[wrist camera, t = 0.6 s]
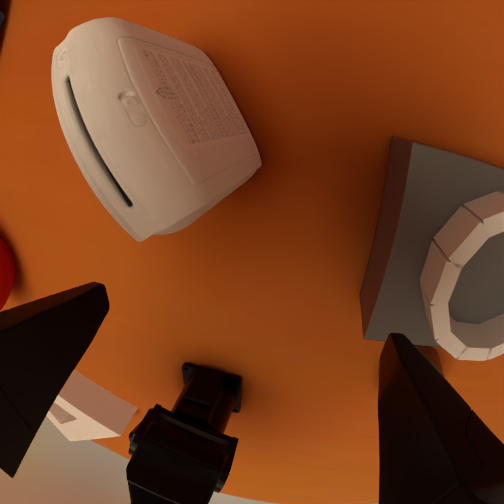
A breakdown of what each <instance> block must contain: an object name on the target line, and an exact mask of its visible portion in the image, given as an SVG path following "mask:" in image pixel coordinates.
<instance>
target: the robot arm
mask: <svg viewBox="0 0 504 504" xmlns="http://www.w3.org/2000/svg"><path fill="white" fill-rule="evenodd" d="M108 311H109V300H108V296H107V292H106V288H105V286H104V285H103V284H102V283H98V282H91V283H88V284H85V285H81V286H78V287H75V288H72V289H69V290H66V291H63V292H60V293H56V294H53V295H50V296H47V297H44V298H41V299H38V300H35V301H32V302H29V303H26V304H23V305H20V306H17V307H14V308H11V309H9V310H5V311H2V312H0V468H1V469H2V470H3V471H4V472H5V473H7V474H8V475H9V476H10V477H11V478H13V477H14V476H15V474H16V472H17V470H18V468H19V466H20V464H21V461H22V460H23V458H24V456H25V454H26V452H27V450H28V448H29V446H30V444H31V442H32V440H33V438H34V437H35V434H36V433H37V431H38V429H39V427H40V425H41V424H42V422H43V420H44V418H45V417H46V415H47V413H48V411H49V410H50V408H51V406H52V405H53V403H54V401H55V400H56V398H57V396H58V395H59V393H60V391H61V390H62V388H63V386H64V385H65V383H66V381H67V380H68V378H69V377H70V375H71V373H72V372H73V370H74V369H75V367H76V366H77V364H78V362H79V361H80V359H81V358H82V356H83V355H84V353H85V352H86V350H87V349H88V347H89V345H90V344H91V342H92V340H93V338H94V337H95V335H96V333H97V331H98V329H99V327H100V325H101V324H102V322H103V320H104V318H105V316H106V315H107V313H108ZM182 372H183V378H184V385H185V386H184V388H183V390H182V392H181V394H180V396H179V397H178V399H177V401H176V403H175V405H174V407H173V409H172V410H171V411H169V410H167V409H165V408H163V407H162V406H161V405H159V404H156V405H155V407H154V408H153V409H152V408H151V409H149V410H148V412H147V414H146V415H145V417H144V419H143V420H142V421H141V422H140V423H139V424H138V425H137V426H136V427H135V428H134V429H133V431H132V432H131V433H130V434H129V440H130V448H129V452H128V453H129V454H130V455H132V457H131V459H130V461H129V463H128V465H127V469H126V473H127V480H128V485H129V492H130V498H131V504H208V503H209V501H210V499H211V496H212V494H213V492H217V493H219V492H220V491H221V489H222V488H223V486H224V484H225V482H226V480H227V477H228V475H229V472H230V469H231V466H232V462H233V458H234V455H235V451H236V447H237V443H238V438H235V437H230V436H227V435H225V434H224V431H225V428H226V426H227V423H228V420H229V418H230V415H231V412H235V413H239V412H240V409H241V391H242V379H241V378H240V377H239V376H235V375H231V374H226V373H222V372H218V371H214V370H210V369H207V368H203V367H199V366H195V365H192V364H188V363H184V364H183V366H182ZM378 421H379V457H380V472H379V504H504V444H503V443H502V442H501V441H500V440H499V439H498V438H497V437H496V436H495V435H494V434H493V433H492V432H491V431H490V429H489V428H488V427H487V426H486V425H485V424H484V423H483V421H482V420H481V419H480V418H479V417H478V416H477V415H476V413H475V412H474V411H473V410H471V408H470V406H469V405H468V404H467V403H466V402H465V401H464V399H463V398H462V397H461V396H460V395H459V394H458V393H457V391H456V390H455V389H454V388H453V387H452V386H451V385H450V384H449V382H448V381H447V380H446V379H445V378H444V377H443V376H442V375H441V374H440V372H439V371H438V370H437V369H436V368H435V367H434V366H433V365H432V364H431V363H430V361H429V360H428V359H427V358H426V357H425V356H424V355H423V354H422V353H421V352H420V351H419V350H418V349H417V347H416V346H415V345H414V344H413V343H412V342H411V341H410V340H409V339H408V338H407V337H406V336H405V335H404V334H402V333H393V332H392V333H390V334H389V335H388V337H387V339H386V342H385V345H384V347H383V350H382V353H381V356H380V368H379V394H378Z"/></svg>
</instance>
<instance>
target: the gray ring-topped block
mask: <svg viewBox="0 0 504 504" xmlns="http://www.w3.org/2000/svg"><path fill="white" fill-rule="evenodd" d="M360 305H361V315H362V326H363V338H364V339H369V340H377V341H385V342H386V339H387V337H388V335H389V334H390V333H392V332H393V333H402V334H404V335H405V336H406V337H407V338H408V339H409V340H410V341H411V342H412V343H413V344H414V345H423V346H435V347H443V348H444V349H445V350H446V351H447V352H448V353H450V354H451V355H452V356H453V357H454V358H455V359H456V358H457V359H458V360H480V361H486V360H487V359H488V360H490V359H492V358H494V357H497V356H499V355H501V354H503V353H504V168H502V167H499V166H496V165H493V164H491V163H488V162H485V161H482V160H479V159H476V158H473V157H470V156H467V155H463V154H460V153H457V152H453V151H450V150H447V149H443V148H439V147H436V146H432V145H428V144H424V143H420V142H416V141H412V140H408V139H403V138H399V137H394V136H392V141H391V149H390V156H389V162H388V169H387V175H386V181H385V187H384V193H383V198H382V203H381V209H380V214H379V218H378V223H377V228H376V233H375V237H374V241H373V246H372V250H371V254H370V258H369V262H368V266H367V270H366V274H365V278H364V282H363V285H362V289H361V293H360Z"/></svg>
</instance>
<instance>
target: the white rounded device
mask: <svg viewBox="0 0 504 504" xmlns="http://www.w3.org/2000/svg"><path fill="white" fill-rule="evenodd" d="M52 89H53V96H54V101H55V106H56V110H57V114H58V118H59V121H60V124H61V128H62V130H63V133H64V136H65V138H66V141H67V143H68V146H69V148H70V150H71V152H72V154H73V157H74V159H75V161H76V163H77V164H78V166H79V168H80V170H81V172H82V174H83V176H84V177H85V179H86V181H87V182H88V184H89V186H90V187H91V189H92V190H93V192H94V193H95V195H96V196H97V198H98V199H99V200H100V202H101V203H102V205H103V206H104V207H105V209H106V210H107V211H108V212H109V214H110V215H111V216H112V217H113V218H114V219H115V221H116V222H117V223H118V224H119V225H120V226H121V227H122V228H123V229H124V230H125V231H126V232H127V233H128V234H129V235H130V236H131V237H133V238H134V239H135V240H136V241H138V242H141V241H143V240H145V239H147V238H148V237H150V236H152V235H166V234H171V233H174V232H177V231H180V230H182V229H184V228H186V227H187V226H189V225H190V224H192V223H193V222H194V221H195V220H197V219H198V218H199V217H201V216H202V215H203V214H204V213H206V212H207V211H208V210H209V209H211V208H212V207H213V206H215V205H216V204H217V203H218V202H220V201H221V200H222V199H224V198H225V197H226V196H228V195H229V194H230V193H232V192H233V191H234V190H235V189H237V188H238V187H239V186H241V185H242V184H243V183H245V182H246V181H247V180H249V179H250V178H251V177H252V176H253V175H254V173H255V172H256V170H257V169H258V168H260V167H261V166H262V163H261V158H260V155H259V152H258V149H257V146H256V144H255V141H254V139H253V137H252V135H251V133H250V130H249V128H248V127H247V125H246V122H245V120H244V118H243V116H242V114H241V113H240V111H239V109H238V107H237V105H236V103H235V101H234V99H233V97H232V95H231V94H230V92H229V90H228V88H227V86H226V84H225V83H224V81H223V79H222V77H221V75H220V74H219V72H218V70H217V69H216V67H215V66H214V64H213V63H212V61H211V60H210V59H209V57H208V56H207V55H206V54H205V53H204V52H203V51H202V50H201V49H199V48H197V47H194V46H192V45H190V44H187V43H185V42H183V41H180V40H178V39H175V38H173V37H170V36H168V35H165V34H163V33H160V32H157V31H155V30H152V29H149V28H147V27H144V26H141V25H138V24H135V23H132V22H129V21H126V20H123V19H120V18H114V17H107V18H100V19H94V20H91V21H88V22H85V23H83V24H81V25H79V26H77V27H75V28H73V29H72V30H71V31H70V32H69V33H68V35H67V37H66V38H65V40H64V41H63V42H62V43H61V44H60V45H58V46H57V47H56V48H55V50H54V52H53V59H52Z"/></svg>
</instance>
